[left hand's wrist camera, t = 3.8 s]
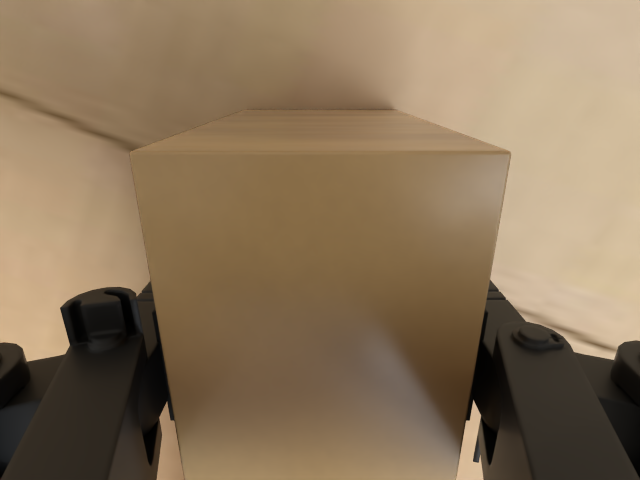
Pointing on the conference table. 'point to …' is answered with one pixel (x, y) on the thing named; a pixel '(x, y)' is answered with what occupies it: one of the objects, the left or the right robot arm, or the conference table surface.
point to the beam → (320, 290)
